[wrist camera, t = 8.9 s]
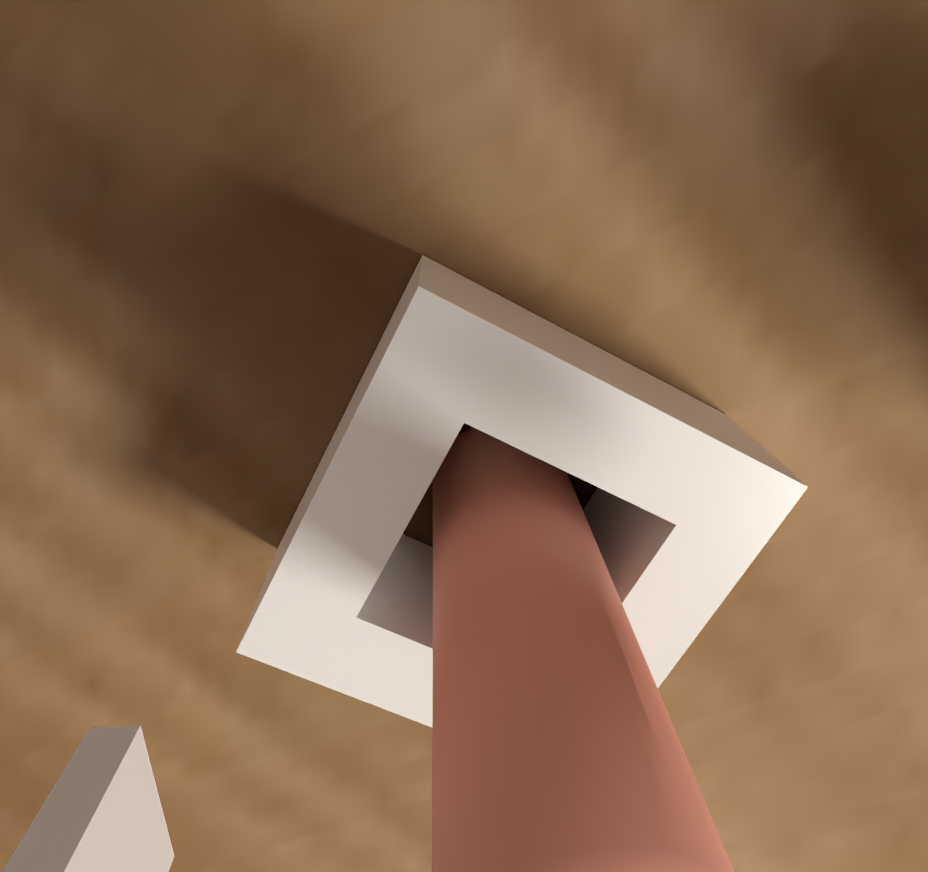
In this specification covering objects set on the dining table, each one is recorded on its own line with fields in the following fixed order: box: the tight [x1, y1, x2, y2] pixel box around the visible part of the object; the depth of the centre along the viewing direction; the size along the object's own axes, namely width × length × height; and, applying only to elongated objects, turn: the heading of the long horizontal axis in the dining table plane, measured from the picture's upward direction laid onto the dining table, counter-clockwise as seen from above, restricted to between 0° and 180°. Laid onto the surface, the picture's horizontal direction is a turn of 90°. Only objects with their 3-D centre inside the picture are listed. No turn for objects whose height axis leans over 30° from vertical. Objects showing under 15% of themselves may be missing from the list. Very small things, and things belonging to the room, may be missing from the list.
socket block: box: [236, 255, 808, 727], centre depth 20 cm, size 10×10×5 cm
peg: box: [432, 427, 734, 872], centre depth 16 cm, size 4×4×14 cm
